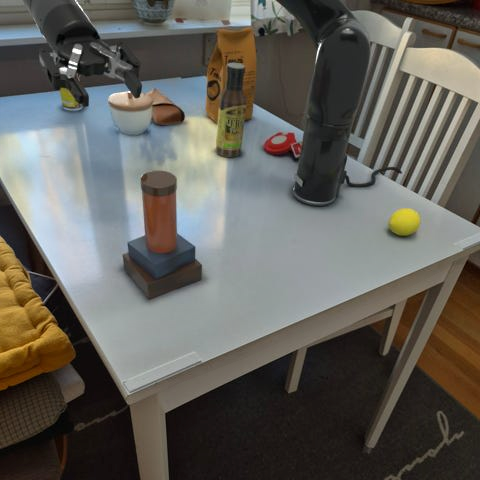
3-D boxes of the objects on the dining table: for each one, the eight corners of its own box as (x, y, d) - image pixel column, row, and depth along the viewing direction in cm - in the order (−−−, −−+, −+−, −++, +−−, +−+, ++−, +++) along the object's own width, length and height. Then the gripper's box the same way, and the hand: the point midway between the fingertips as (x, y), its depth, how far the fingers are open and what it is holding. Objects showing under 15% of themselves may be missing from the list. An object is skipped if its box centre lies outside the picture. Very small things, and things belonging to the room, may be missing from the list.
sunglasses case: (129, 101, 134) (139, 78, 131) (149, 111, 139) (159, 89, 136) (157, 125, 123) (168, 101, 121) (177, 135, 128) (189, 112, 126)
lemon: (392, 242, 93) (401, 219, 89) (379, 227, 96) (386, 204, 92) (422, 238, 94) (432, 215, 91) (408, 224, 98) (416, 201, 94)
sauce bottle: (223, 160, 113) (229, 70, 99) (211, 150, 116) (214, 61, 102) (246, 156, 115) (254, 68, 101) (233, 146, 119) (239, 59, 105)
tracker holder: (257, 148, 116) (272, 125, 121) (260, 163, 120) (275, 141, 125) (302, 149, 111) (316, 126, 116) (305, 166, 114) (318, 142, 119)
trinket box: (103, 133, 118) (99, 94, 112) (123, 119, 126) (120, 81, 119) (142, 142, 116) (140, 102, 110) (160, 126, 124) (159, 89, 117)
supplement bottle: (78, 112, 126) (72, 73, 119) (59, 109, 127) (52, 70, 120) (86, 106, 130) (81, 67, 123) (68, 103, 131) (62, 64, 124)
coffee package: (200, 113, 133) (202, 24, 117) (238, 108, 138) (244, 22, 123) (218, 127, 127) (222, 34, 112) (256, 121, 132) (265, 32, 117)
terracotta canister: (167, 232, 78) (165, 167, 70) (183, 248, 75) (183, 182, 67) (139, 240, 76) (134, 175, 68) (154, 257, 73) (150, 191, 65)
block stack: (175, 252, 85) (174, 222, 80) (201, 279, 80) (202, 249, 75) (124, 269, 80) (120, 238, 76) (148, 299, 75) (146, 268, 71)
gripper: (17, 5, 68) (67, 82, 64) (107, -1, 75) (158, 69, 71) (21, 53, 74) (68, 126, 70) (105, 44, 81) (151, 110, 77)
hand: (113, 97), depth 71 cm, fingers open, 8 cm apart
